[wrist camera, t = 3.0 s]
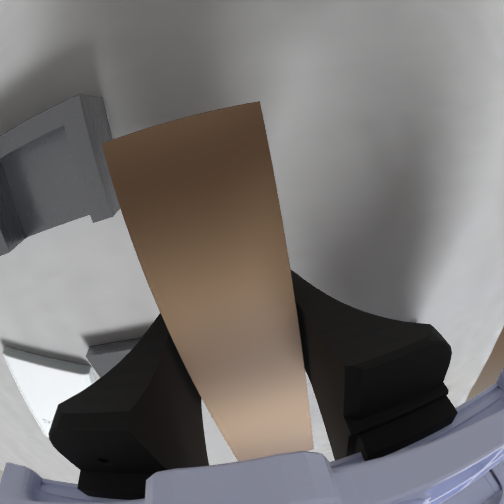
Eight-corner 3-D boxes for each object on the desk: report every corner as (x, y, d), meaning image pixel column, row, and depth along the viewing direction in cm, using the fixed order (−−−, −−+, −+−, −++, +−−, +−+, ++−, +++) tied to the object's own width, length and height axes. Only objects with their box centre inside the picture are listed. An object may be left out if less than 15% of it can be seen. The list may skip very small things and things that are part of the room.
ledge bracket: (189, 378, 21) (189, 405, 18) (117, 388, 20) (112, 413, 18) (167, 333, 19) (163, 360, 16) (89, 346, 18) (80, 371, 16)
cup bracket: (129, 198, 15) (112, 216, 12) (23, 235, 14) (-2, 256, 12) (102, 97, 12) (79, 94, 10) (-4, 150, 12) (-35, 159, 9)
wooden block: (291, 377, 16) (313, 449, 12) (231, 391, 16) (240, 465, 12) (237, 109, 10) (259, 101, 6) (145, 132, 10) (101, 143, 6)
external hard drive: (93, 360, 20) (116, 441, 25) (8, 341, 18) (46, 425, 23) (88, 375, 18) (114, 454, 23) (0, 354, 17) (43, 437, 22)
